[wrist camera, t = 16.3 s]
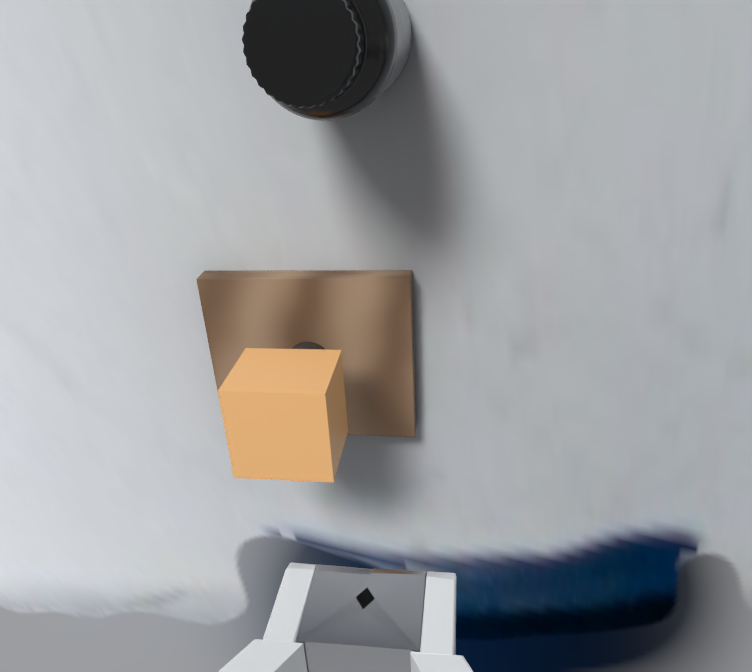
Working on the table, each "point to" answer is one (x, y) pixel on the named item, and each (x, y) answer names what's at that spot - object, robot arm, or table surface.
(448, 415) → the table surface
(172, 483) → the table surface
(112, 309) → the table surface
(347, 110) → the supplement bottle
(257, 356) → the peach wooden cube
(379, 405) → the post board
